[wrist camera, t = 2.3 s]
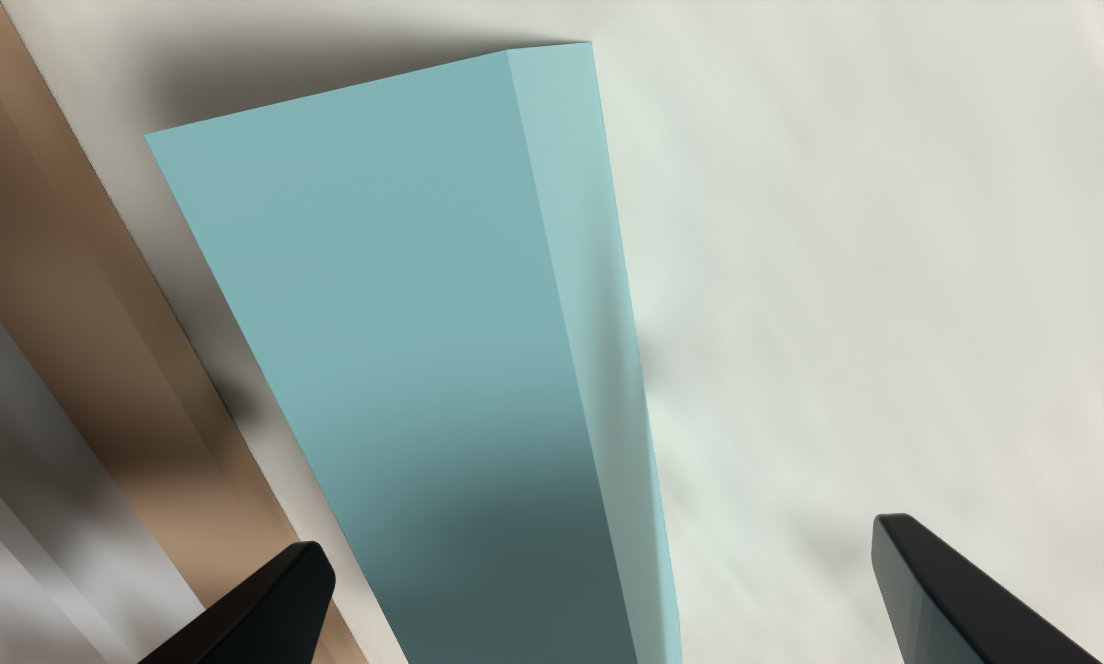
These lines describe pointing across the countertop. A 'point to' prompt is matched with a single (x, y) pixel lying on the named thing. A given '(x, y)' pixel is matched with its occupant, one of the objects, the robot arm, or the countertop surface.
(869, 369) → the countertop surface
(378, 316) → the door panel
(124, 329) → the track
